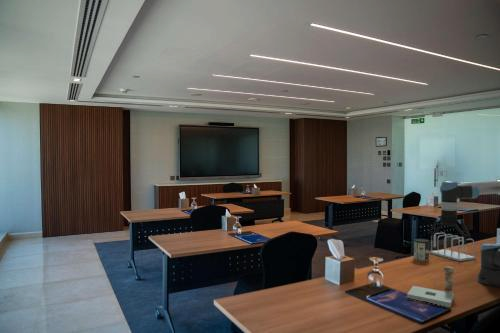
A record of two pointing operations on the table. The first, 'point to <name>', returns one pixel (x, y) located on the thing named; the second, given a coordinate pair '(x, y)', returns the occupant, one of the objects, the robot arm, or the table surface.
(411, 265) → the table surface
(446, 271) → the peg
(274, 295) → the table surface
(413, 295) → the board
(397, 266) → the table surface
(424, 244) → the coffee can
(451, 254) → the file sorter
